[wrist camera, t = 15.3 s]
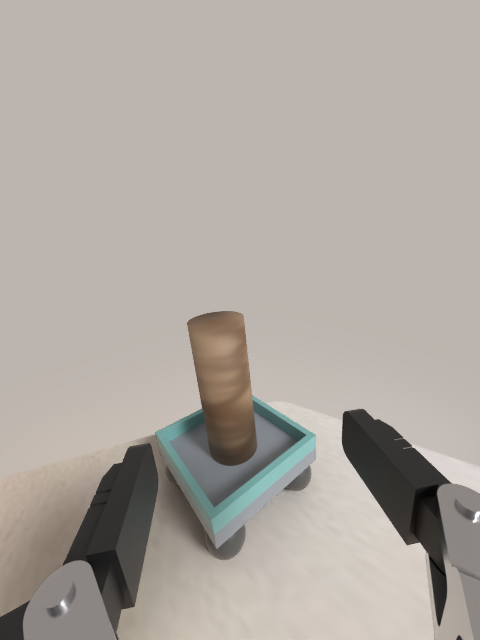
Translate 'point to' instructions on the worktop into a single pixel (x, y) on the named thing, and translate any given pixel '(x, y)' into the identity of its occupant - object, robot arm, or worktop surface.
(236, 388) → the cylinder
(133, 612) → the worktop surface
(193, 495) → the wheeled cart
